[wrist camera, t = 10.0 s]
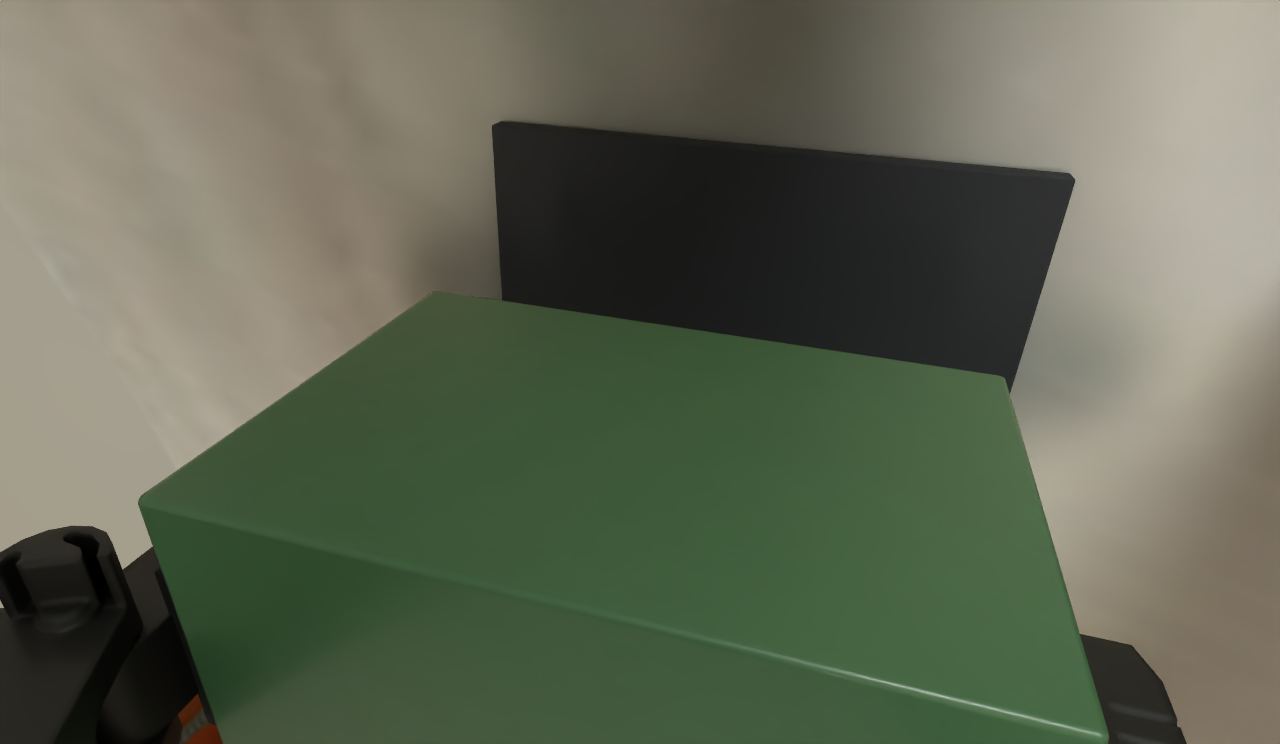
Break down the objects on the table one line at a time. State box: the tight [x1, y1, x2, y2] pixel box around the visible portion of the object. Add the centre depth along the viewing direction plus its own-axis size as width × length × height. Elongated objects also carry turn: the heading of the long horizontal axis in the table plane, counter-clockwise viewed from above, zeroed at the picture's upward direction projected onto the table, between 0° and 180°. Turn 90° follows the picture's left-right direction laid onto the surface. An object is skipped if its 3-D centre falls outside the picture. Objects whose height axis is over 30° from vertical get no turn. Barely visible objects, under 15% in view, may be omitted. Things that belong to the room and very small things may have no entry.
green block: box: [138, 291, 1109, 744], centre depth 11 cm, size 6×9×6 cm, turn 88°
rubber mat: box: [492, 122, 1075, 394], centre depth 18 cm, size 9×12×1 cm
